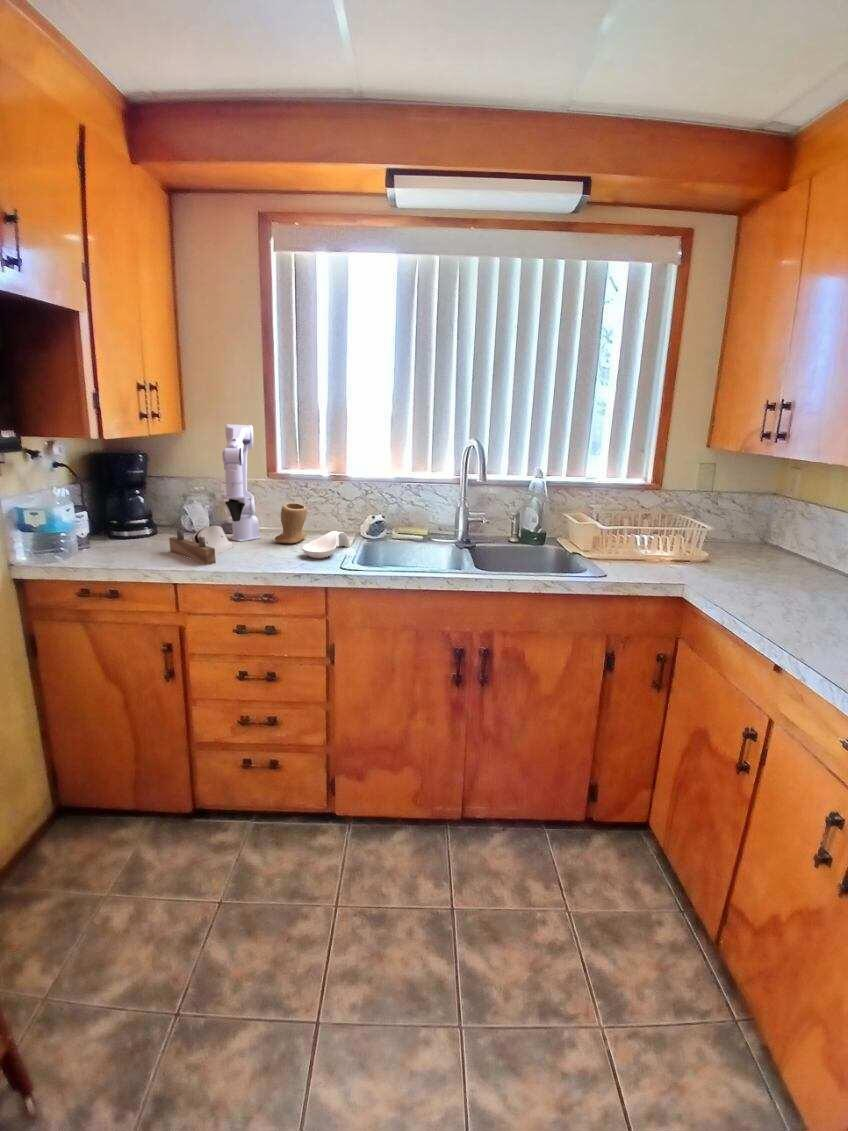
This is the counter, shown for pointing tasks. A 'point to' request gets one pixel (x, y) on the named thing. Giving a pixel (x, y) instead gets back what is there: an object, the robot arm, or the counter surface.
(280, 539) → the brown boot vase
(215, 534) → the white curved piece
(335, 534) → the spoon rest
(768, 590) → the counter surface
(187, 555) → the stop fence
